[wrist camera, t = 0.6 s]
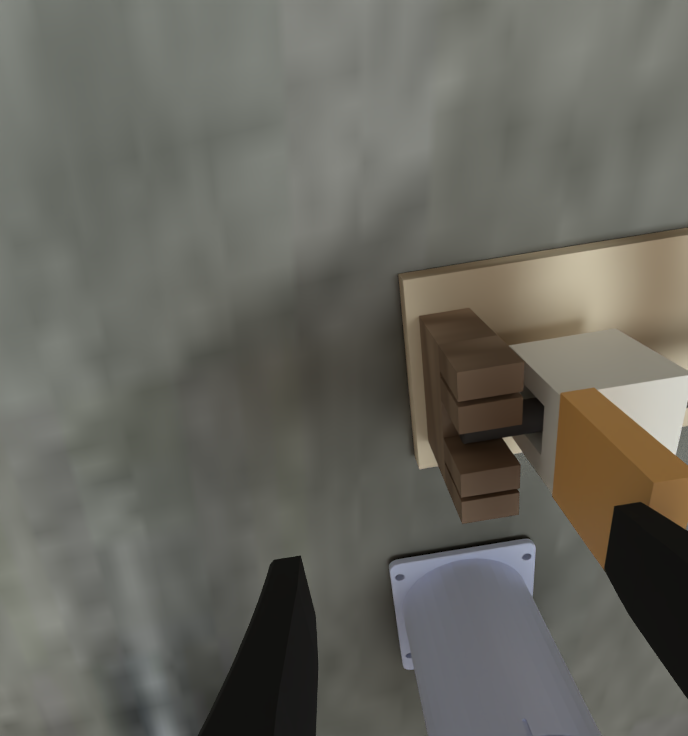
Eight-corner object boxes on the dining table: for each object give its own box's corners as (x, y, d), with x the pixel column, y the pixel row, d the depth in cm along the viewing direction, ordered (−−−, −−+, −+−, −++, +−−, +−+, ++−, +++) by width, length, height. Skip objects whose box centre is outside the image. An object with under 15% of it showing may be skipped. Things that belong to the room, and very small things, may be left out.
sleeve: (507, 432, 19) (628, 605, 12) (508, 342, 17) (653, 482, 10) (603, 416, 19) (783, 579, 12) (615, 325, 17) (836, 453, 10)
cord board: (414, 455, 22) (452, 562, 16) (398, 273, 18) (440, 331, 12) (781, 396, 22) (944, 482, 16) (845, 202, 18) (1090, 226, 12)
